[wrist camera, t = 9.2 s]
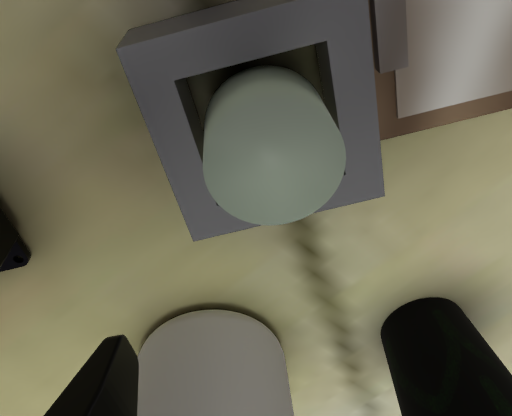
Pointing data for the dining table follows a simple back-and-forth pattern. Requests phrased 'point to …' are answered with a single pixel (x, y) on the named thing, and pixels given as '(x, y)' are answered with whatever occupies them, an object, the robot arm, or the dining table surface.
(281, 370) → the wine bottle
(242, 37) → the button housing
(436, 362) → the cup
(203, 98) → the dining table surface
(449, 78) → the clipboard
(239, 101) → the button
